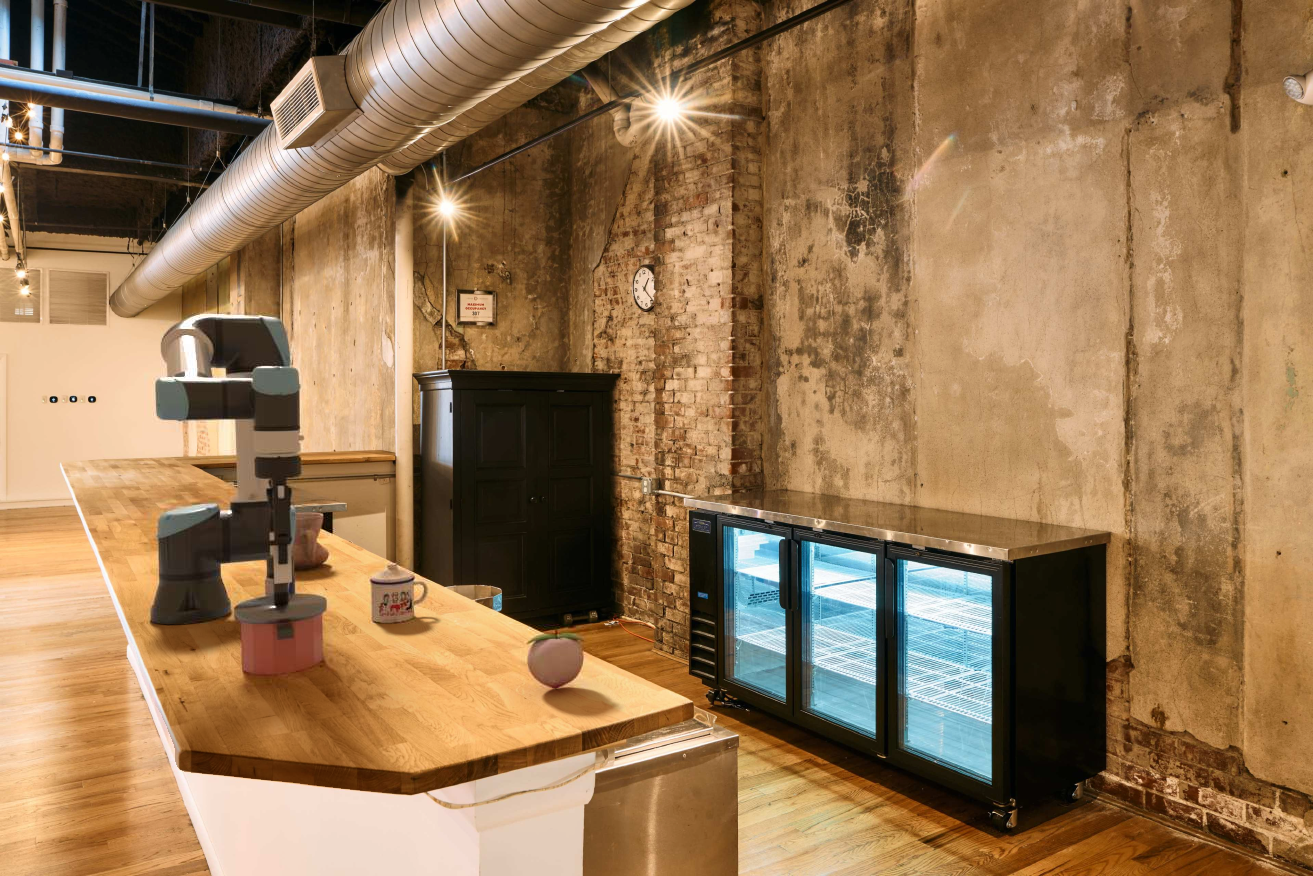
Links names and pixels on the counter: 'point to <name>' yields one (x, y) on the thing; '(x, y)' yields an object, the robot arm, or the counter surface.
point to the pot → (281, 646)
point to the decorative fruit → (555, 658)
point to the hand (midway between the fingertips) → (280, 574)
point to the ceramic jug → (308, 541)
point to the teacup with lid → (394, 595)
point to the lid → (280, 604)
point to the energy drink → (270, 590)
